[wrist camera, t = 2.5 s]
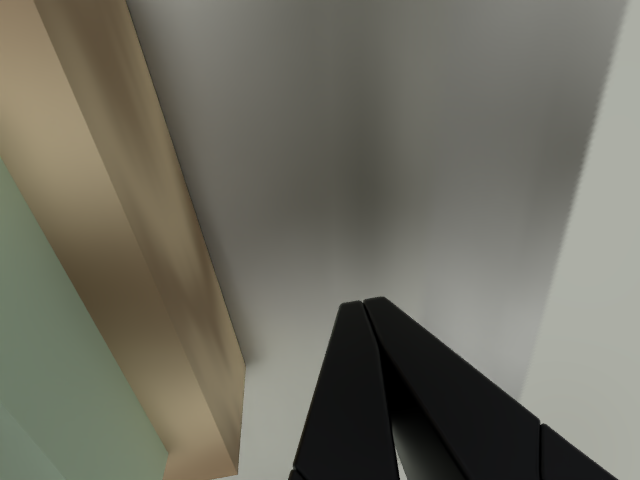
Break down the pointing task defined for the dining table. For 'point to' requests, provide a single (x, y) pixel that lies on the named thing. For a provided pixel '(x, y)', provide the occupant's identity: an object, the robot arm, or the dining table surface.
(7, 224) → the sage green tile
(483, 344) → the dining table surface
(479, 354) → the dining table surface
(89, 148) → the deck
